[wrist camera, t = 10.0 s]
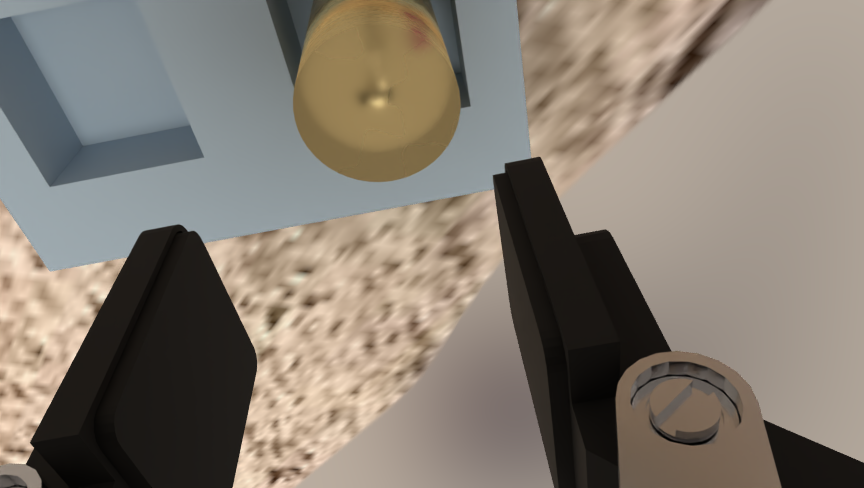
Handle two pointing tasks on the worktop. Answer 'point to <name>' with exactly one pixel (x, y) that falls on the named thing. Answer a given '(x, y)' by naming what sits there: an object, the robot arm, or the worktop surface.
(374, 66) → the yellow cylinder
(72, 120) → the block
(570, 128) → the worktop surface
